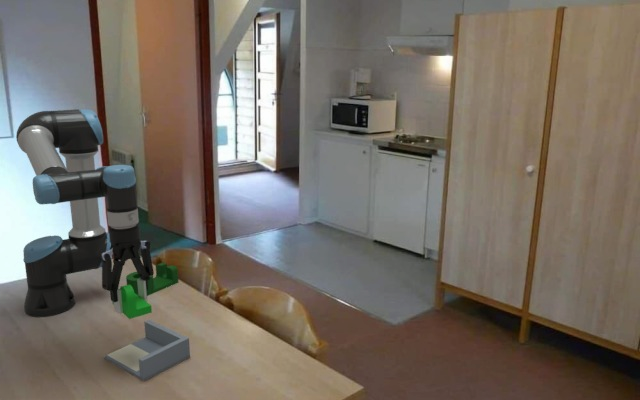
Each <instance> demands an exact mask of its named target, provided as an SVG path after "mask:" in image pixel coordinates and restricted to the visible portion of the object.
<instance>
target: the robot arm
mask: <svg viewBox="0 0 640 400" xmlns="http://www.w3.org/2000/svg"><path fill="white" fill-rule="evenodd" d="M15 137H16V142H17V144H18V147H19V148H20V150H21V151H22V152H24V153H25V154H26V156H27V158H28V160H29V162H30V164H31V167H32V170H33V171H34V174H35V176H34V177H33V179H32V190H33V194H34V199H35V202H36V203H37V204H39V205H55V204H60V203H66V202H67V203H68V202H69V207H70V215H71V223H72V224H71V225H72V227H71V229H70V230H69V231H68V233H67V235H68V238H66V239H63V238H62V237H61V235H45V236H41V237H40V238H36V239H33V240H32V241H30V242H28V243H27V244H25V246H24V247H23V251H22V252H23V259H22V260H23V262H24V265H25V267H24V269H25V276H26V283H27V291H26V294H25V299H24V305H23V306H24V312H25V314H26V315H28V316H31V317H38V318H39V317H41V318H42V317H50V316H54V315H58V314H61V313H65V312H66V311H68V310H70V309H72V308H73V307H74V306H75V304H76V300H75V299H76V298H75V294H74V293H73V291H72V289H71V287H70V285H69V283H68V280H67V278H68V277H67V275H70V274H75V273H80V272H86V271H91V270H98V269H100V268H101V288H102V289H103V290H106V291H108V292H109V295H110V301H111V302H112V301H113V302H114V305H113V310H114V312H116V313H118V314H120V315H121V314H123V307H122V296H121V290H120V288H119V285H120V281H121V276H122V272H123V267H124V266H125V264H126V261H128V260H131V263H132V264H133V267H134V268H135V272H137V273H138V275H139V277H140V278H141V279H137V284H138V296H140V297H141V298H142V299H144V300H145V301H146V302H147V303H148V296H147V293H146V290H148V280H150V277H149V276H152V275H153V276H154V275H155V272H154V266H153V261H152V260H153V259H152V255H151V250H150V249H151V242H150V241H149V240H144V239H142V240H140V238H141V230H140V225H139V224H138V223H139V222H140V219H139V210H138V209H139V208H138V195H137V177H136V172H135V169H134V167H133V166H132V165H129V164H114V165H109V166H107V165H106V166H105V165H103V166H100V167H97V168H96V166H95V165H96V164H95V155H96V154H97V153H98V152H99V146H101V145H103V144H104V134H103V128H102V125H101V122H100V120H99V117H98V115H97V113H96V112H95V111H94V110H92V109H76V108H75V109H62V110H61V109H60V110H42V111H41V110H40V111H37V112H35V113H33V114H31V115H29V116H27V118H26V117H25V119H24V120H23V121H21V123H20V125H19V126H18V128H17V130H16V136H15ZM57 149H58V150H59V151H57ZM60 155H61V156H62V157H64V158H65V163H64V162H63V159H62V158H61V156H60ZM99 198H105V202H106V213H107V225H108V226H109V227H108V232H107V231H106V228H104V227H103V226H102V225H101V219H100V209H99ZM139 249H140V254H139ZM140 255H141V256H140ZM113 256H114V257H113ZM112 259H113V260H112ZM141 259H142V260H141Z"/></svg>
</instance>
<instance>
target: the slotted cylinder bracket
mask: <svg viewBox="0 0 640 400" xmlns="http://www.w3.org/2000/svg"><path fill="white" fill-rule="evenodd" d="M178 271H179V269H178V267H177V266H176V265H173V264H172V265H168V264H167V263H165V262H161V263H158V264H156V265H155V277H154V274H153V275H152V276H149V277H150V280H148V290H146V293H147V297H148V296H150V295H151V296H152V295H153V294H155V293H158V292H159V291H160V292H161V291H162V290H165V289H166V287H167V288H169V287H172V286H174V285H176V284H178V283H179V272H178ZM137 279H141V278H140V277H139V275H138V273H137V271H134V272H133V271H132V272H130V273H128V274H127V275H126V278H125V280H126V285H129V284H130V285H131V286H132V288H133V290H134V293H135V294H137V295H138V284H137ZM171 285H172V286H171Z"/></svg>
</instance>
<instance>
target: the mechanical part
mask: <svg viewBox="0 0 640 400" xmlns="http://www.w3.org/2000/svg"><path fill="white" fill-rule="evenodd" d="M119 289H120V290H121V296H122V307H123V313H122V314H123V315H124V316H125V317H126V318H127V319H129V320H131V319H134V318H138V317H140V316H141V317H142V316H145V315H149V314H152V312H153V311H152V310H153V309H152V305H151V304H150V303H149V302H148V301H147V302H146V301H145V300H144V299H142V298H141V297H140V296H138V295H137V294H135V293H134V290H133V288H132V286H131V285H130V284H129V285H127V284H125V285H122V286H120V287H119ZM111 302H112V305H113V306H114V302H113V301H111Z"/></svg>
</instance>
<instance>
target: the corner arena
mask: <svg viewBox="0 0 640 400" xmlns="http://www.w3.org/2000/svg"><path fill="white" fill-rule="evenodd" d="M143 323H144V335H145V337H142V338H140V339H138V340H136V341H134V342H132V343H130V344H128V345H126V346H123V347H120V348H119V349H116V350H114V351H112V352H110V353H108V354H105V355H104V356H103V357H104V360H106V361H108V362H110V363H111V364H113V365H115V366H117V367H118V368H120V369H121V370H124V371H125V372H128V373H129V374H131V375H132V376H135V378H138V379H140V380H142V381H143V382H145V381H147V380H149V379H151V378H152V377H154V376H157V375H159V374H160V373H162V372H164V371H166V370H168V369H170V368H172V367H174V366H177V364H179V363H182V362H183V361H185V360H188V359H189V358H191V350H190V338H189V337H188V336H185V335H183V334H181V333H180V332H179V333H178V332H176V331H175V330H173V329H171V328H168V327H166V326H164V325H162V324H159V323H157V322H155V321H152V320H151V319H147V320H145V321H144V322H143Z"/></svg>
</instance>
